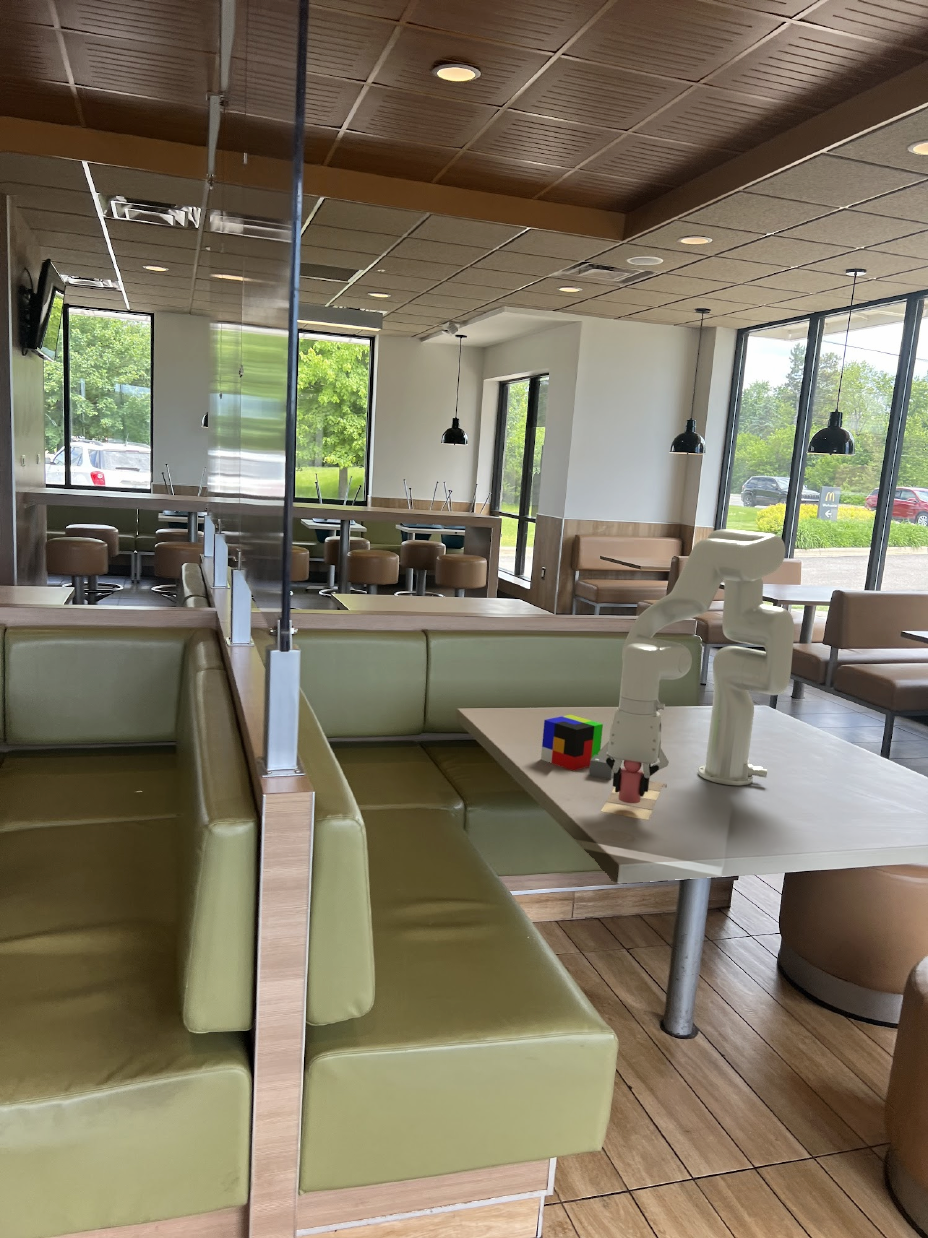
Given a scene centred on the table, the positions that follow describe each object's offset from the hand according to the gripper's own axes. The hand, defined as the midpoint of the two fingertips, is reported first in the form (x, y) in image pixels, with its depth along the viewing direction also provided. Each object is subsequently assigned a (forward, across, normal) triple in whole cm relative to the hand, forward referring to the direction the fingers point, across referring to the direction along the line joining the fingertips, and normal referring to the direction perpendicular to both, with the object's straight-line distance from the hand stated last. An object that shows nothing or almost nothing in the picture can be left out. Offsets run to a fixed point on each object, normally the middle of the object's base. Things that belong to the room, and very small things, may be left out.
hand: (630, 791), depth 186 cm
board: (+5, 0, -9) cm, 11 cm away
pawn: (+2, 0, 0) cm, 2 cm away
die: (+6, +9, -21) cm, 23 cm away
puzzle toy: (+6, +19, -31) cm, 36 cm away
